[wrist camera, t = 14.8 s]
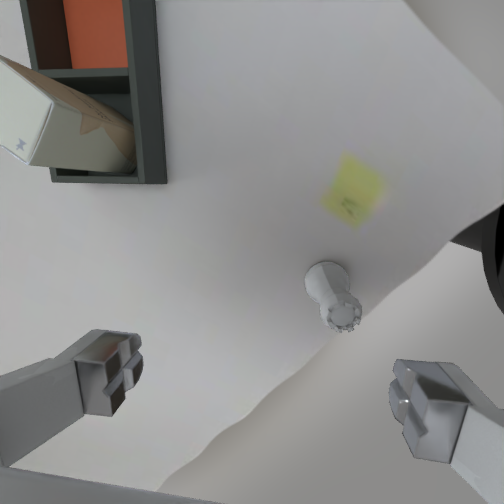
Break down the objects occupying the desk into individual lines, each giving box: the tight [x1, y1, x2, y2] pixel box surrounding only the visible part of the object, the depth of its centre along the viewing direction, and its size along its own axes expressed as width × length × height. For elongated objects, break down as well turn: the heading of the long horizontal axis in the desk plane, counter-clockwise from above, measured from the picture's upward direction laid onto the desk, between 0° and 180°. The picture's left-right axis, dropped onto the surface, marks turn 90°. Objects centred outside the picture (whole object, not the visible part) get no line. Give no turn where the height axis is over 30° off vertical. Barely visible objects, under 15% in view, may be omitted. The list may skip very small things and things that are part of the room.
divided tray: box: [19, 0, 167, 184], centre depth 22 cm, size 9×17×4 cm, turn 179°
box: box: [0, 55, 137, 174], centre depth 20 cm, size 5×4×11 cm
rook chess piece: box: [305, 261, 362, 333], centre depth 23 cm, size 4×4×8 cm
